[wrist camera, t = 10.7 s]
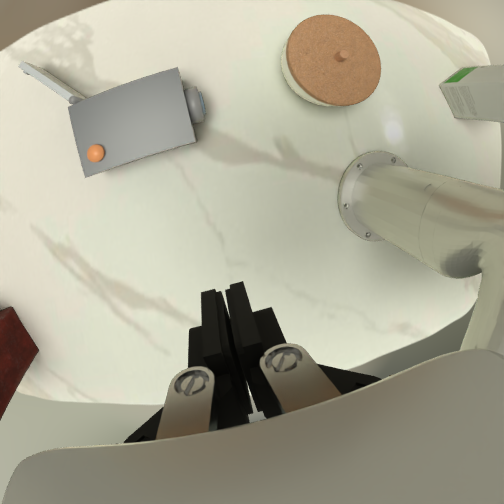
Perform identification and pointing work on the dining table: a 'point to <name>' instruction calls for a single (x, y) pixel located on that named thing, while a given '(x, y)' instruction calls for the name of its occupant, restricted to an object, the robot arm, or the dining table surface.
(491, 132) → the dining table surface
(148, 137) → the camera body
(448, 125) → the dining table surface
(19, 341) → the toy vending machine
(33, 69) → the side door
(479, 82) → the skincare box
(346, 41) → the lidded jar
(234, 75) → the dining table surface
